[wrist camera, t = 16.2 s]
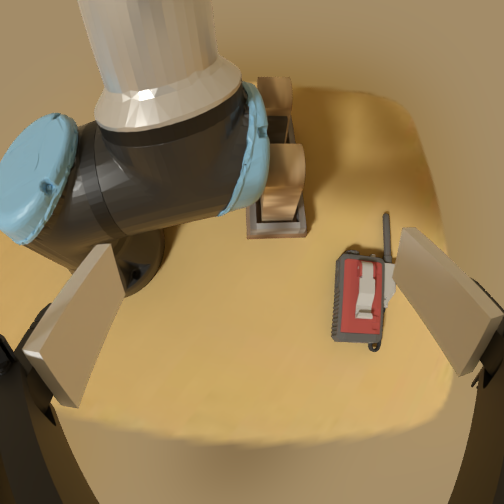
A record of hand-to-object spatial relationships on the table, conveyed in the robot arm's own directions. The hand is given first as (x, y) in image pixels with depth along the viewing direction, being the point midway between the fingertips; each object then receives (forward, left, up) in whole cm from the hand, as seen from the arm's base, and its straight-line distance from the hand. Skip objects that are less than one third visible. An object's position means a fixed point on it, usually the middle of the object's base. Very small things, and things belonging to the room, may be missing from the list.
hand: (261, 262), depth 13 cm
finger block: (+4, +14, -25) cm, 29 cm away
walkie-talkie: (+15, +4, -27) cm, 31 cm away
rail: (+4, +20, -26) cm, 33 cm away
